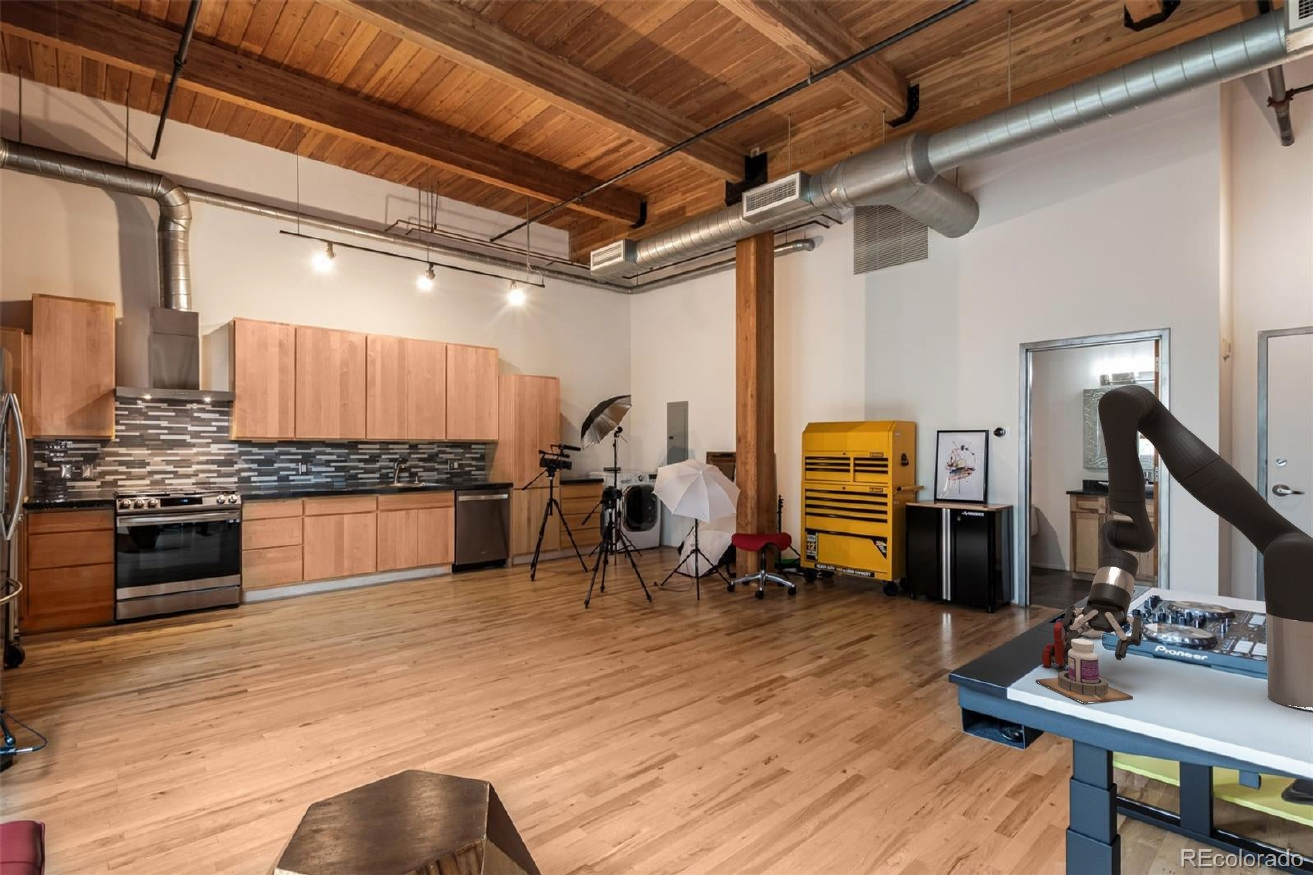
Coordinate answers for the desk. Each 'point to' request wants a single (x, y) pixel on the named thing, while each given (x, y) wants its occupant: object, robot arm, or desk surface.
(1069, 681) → the collar
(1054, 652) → the dark red upright piece
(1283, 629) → the robot arm
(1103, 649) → the desk surface
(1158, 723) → the desk surface
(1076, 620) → the geometric ball
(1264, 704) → the desk surface
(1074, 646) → the pill bottle
